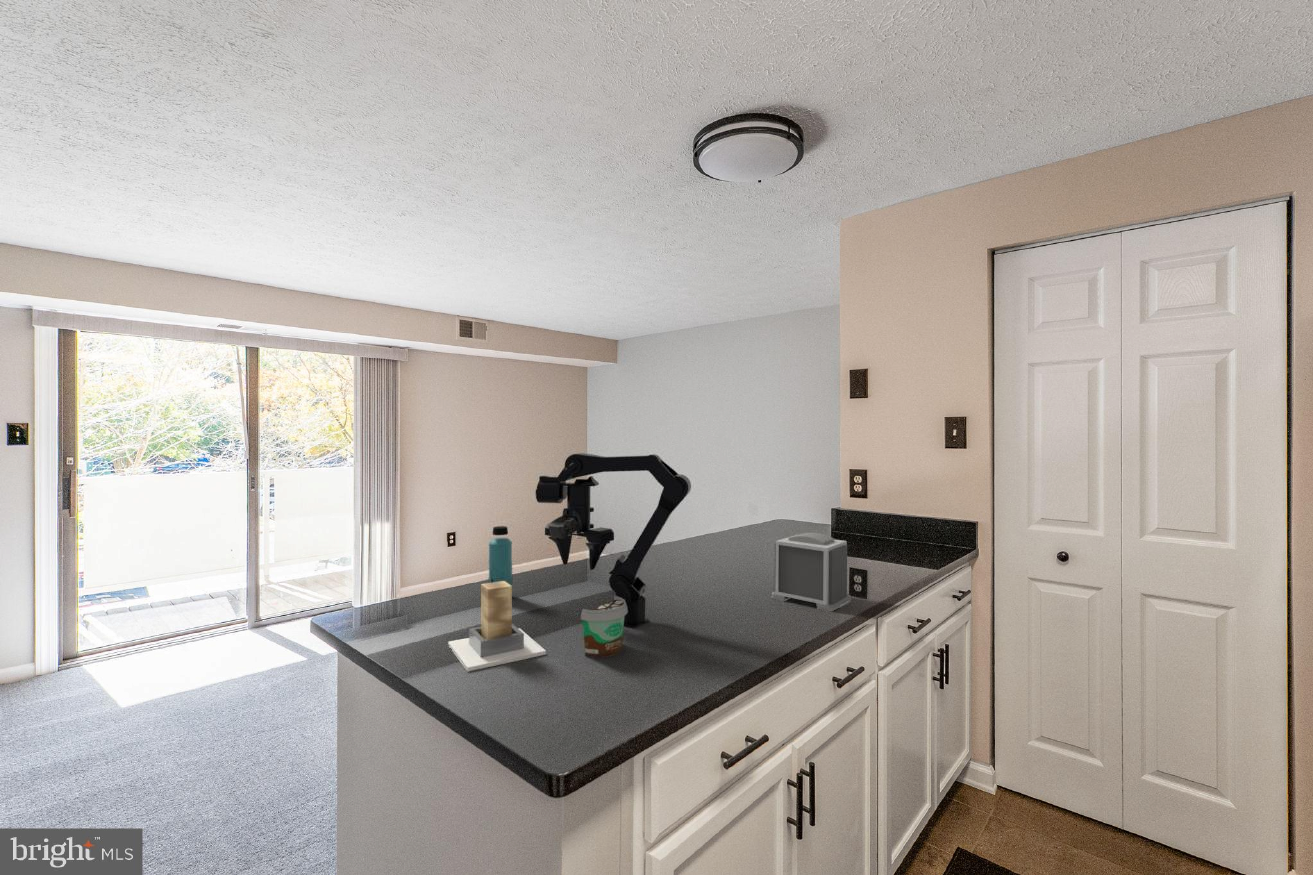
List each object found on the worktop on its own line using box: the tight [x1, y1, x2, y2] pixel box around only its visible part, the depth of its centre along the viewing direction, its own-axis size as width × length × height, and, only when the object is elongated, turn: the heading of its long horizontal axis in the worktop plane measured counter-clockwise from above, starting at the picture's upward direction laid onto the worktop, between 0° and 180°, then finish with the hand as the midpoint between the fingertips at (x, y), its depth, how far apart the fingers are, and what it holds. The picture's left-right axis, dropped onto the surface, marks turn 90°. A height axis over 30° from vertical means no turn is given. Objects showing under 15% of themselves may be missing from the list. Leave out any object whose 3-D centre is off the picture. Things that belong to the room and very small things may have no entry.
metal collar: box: [468, 623, 524, 658], centre depth 121 cm, size 9×9×3 cm
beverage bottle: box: [488, 525, 513, 591], centre depth 159 cm, size 6×7×20 cm
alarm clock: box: [771, 532, 852, 608], centre depth 159 cm, size 18×13×18 cm
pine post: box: [480, 581, 513, 639], centre depth 121 cm, size 5×5×13 cm
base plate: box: [447, 627, 547, 673], centre depth 121 cm, size 16×16×1 cm
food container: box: [580, 595, 628, 658], centre depth 121 cm, size 12×6×10 cm, turn 148°
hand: (578, 566), depth 141 cm, fingers open, 9 cm apart
